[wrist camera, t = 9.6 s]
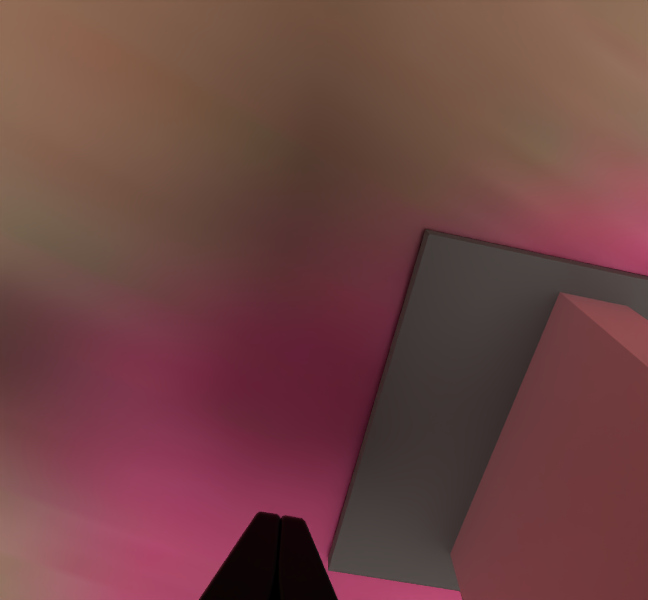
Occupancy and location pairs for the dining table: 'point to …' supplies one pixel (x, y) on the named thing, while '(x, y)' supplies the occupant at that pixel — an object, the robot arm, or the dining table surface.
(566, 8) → the dining table surface
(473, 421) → the mat
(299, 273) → the dining table surface
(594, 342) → the pink rectangular block
